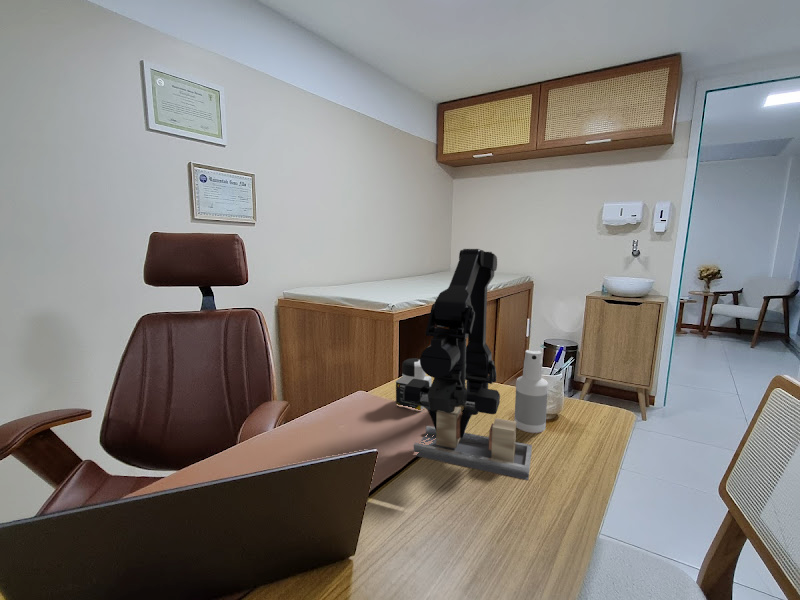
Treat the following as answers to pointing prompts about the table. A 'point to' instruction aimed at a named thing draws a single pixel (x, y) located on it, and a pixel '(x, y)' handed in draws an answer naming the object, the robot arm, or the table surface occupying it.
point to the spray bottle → (531, 395)
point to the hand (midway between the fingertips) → (449, 434)
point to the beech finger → (448, 428)
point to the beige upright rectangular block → (502, 440)
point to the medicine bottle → (409, 372)
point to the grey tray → (474, 458)
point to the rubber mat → (474, 450)
